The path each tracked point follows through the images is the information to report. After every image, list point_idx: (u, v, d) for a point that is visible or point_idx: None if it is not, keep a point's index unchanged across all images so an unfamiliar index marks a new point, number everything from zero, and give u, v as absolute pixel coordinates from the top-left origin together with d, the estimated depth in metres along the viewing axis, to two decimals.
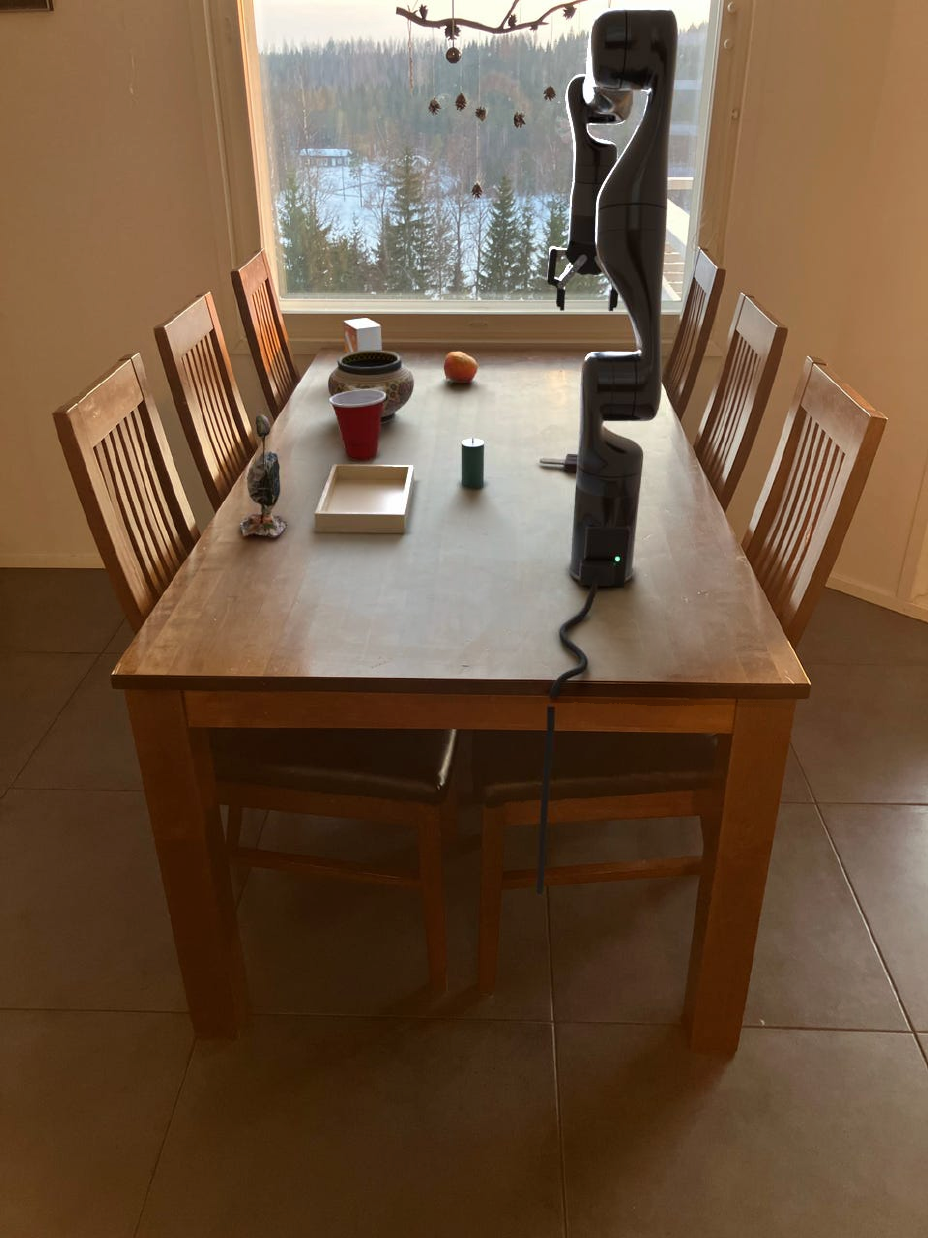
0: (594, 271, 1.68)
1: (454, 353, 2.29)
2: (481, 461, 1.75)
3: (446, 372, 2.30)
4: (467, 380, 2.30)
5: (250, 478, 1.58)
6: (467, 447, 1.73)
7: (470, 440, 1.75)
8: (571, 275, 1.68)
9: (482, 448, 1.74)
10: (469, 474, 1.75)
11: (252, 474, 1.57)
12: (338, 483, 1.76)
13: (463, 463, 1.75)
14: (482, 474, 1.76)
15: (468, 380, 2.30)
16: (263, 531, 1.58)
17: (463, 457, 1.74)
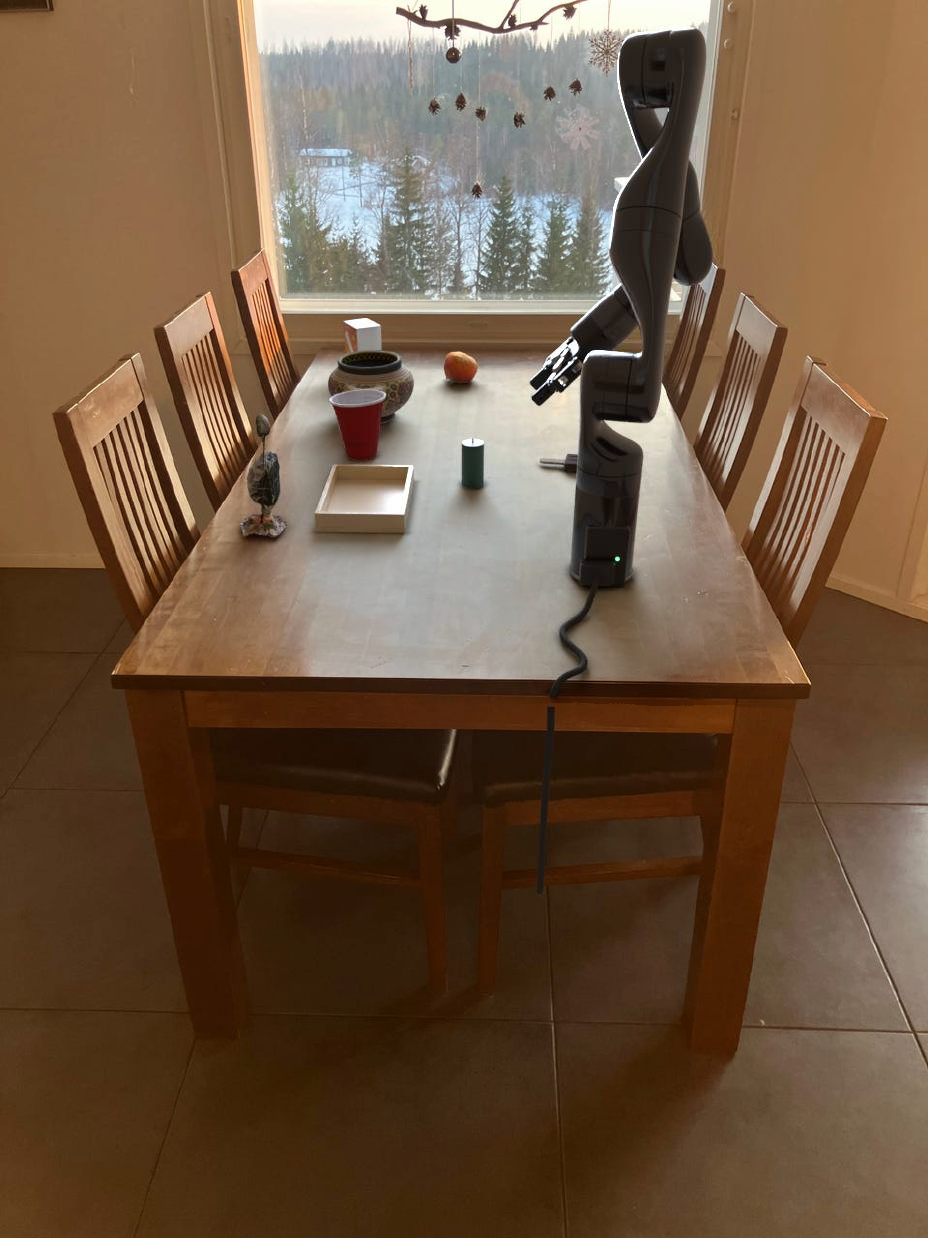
0: None
1: (454, 353, 2.29)
2: (481, 461, 1.75)
3: (446, 372, 2.30)
4: (467, 380, 2.30)
5: (250, 478, 1.58)
6: (467, 447, 1.73)
7: (470, 440, 1.75)
8: (552, 357, 1.69)
9: (482, 448, 1.74)
10: (469, 474, 1.75)
11: (252, 474, 1.57)
12: (338, 483, 1.76)
13: (463, 463, 1.75)
14: (482, 474, 1.76)
15: (468, 380, 2.30)
16: (263, 531, 1.58)
17: (463, 457, 1.74)
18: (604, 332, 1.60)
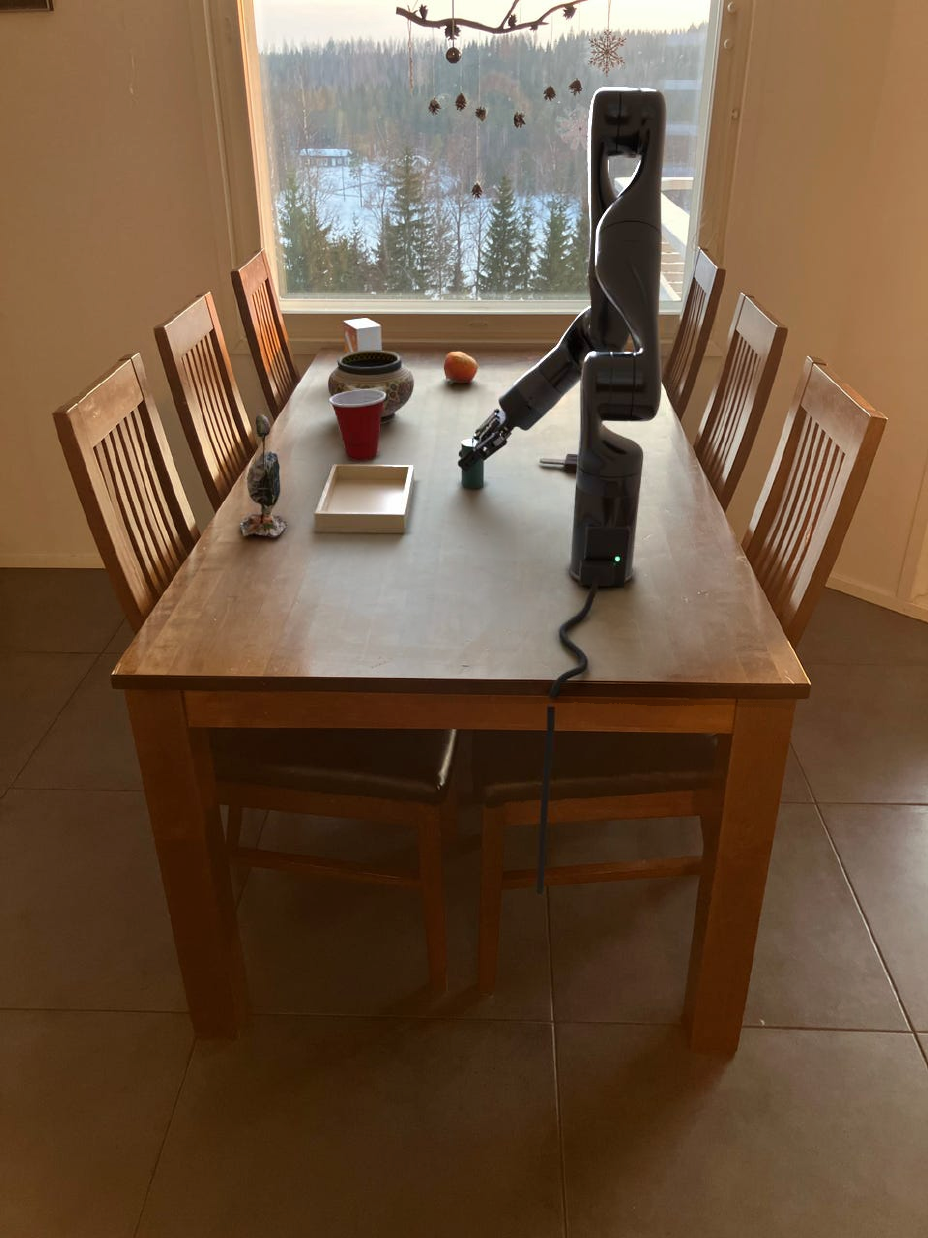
0: None
1: (454, 353, 2.29)
2: (481, 461, 1.74)
3: (446, 372, 2.30)
4: (467, 380, 2.30)
5: (250, 478, 1.58)
6: (467, 447, 1.73)
7: (470, 440, 1.75)
8: (481, 427, 1.75)
9: (482, 448, 1.74)
10: (469, 474, 1.75)
11: (252, 474, 1.57)
12: (338, 483, 1.76)
13: None
14: (482, 474, 1.76)
15: (468, 380, 2.30)
16: (263, 531, 1.58)
17: None
18: (529, 403, 1.66)
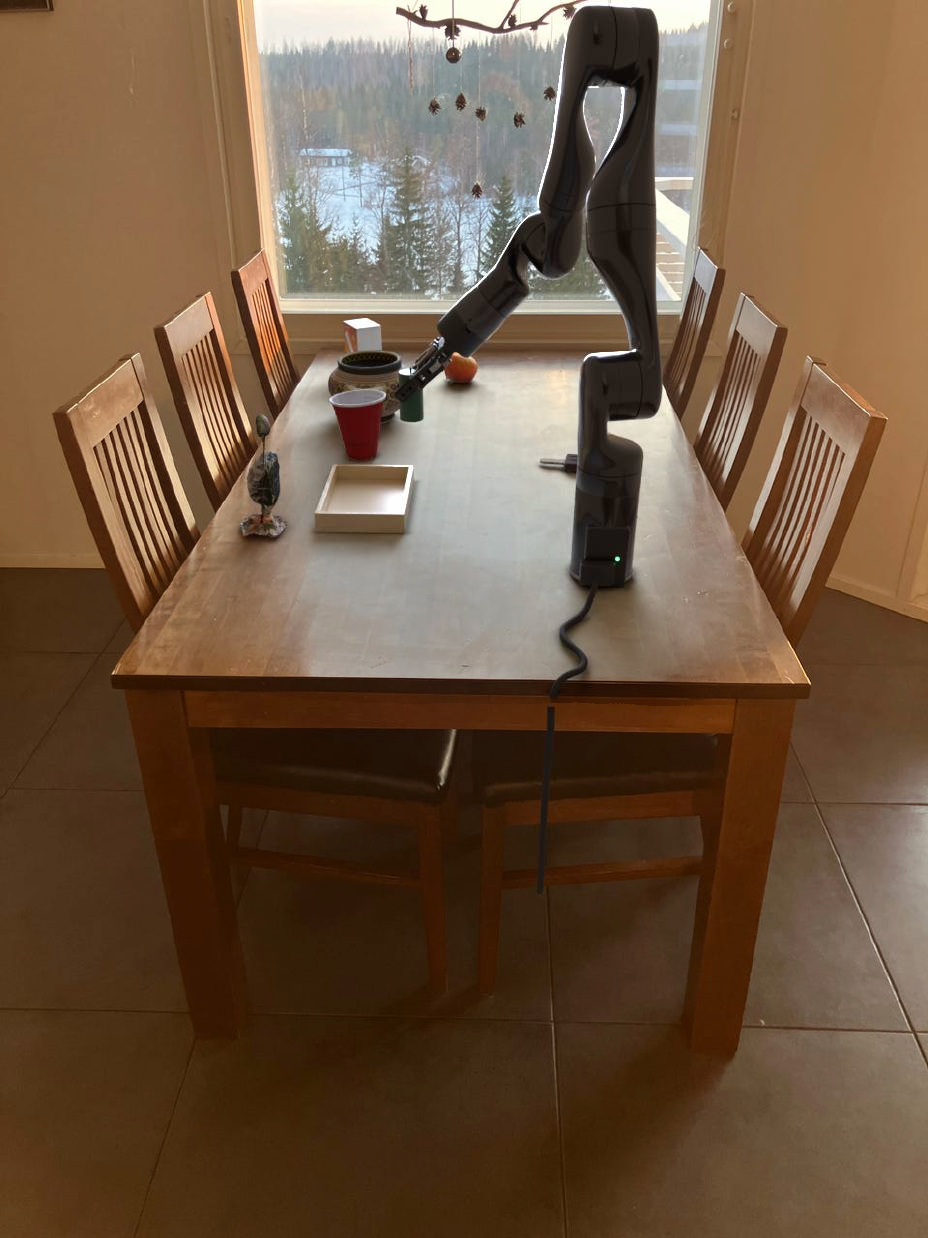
0: None
1: (454, 353, 2.29)
2: (420, 392, 1.63)
3: (446, 372, 2.30)
4: (467, 380, 2.30)
5: (250, 478, 1.58)
6: (404, 376, 1.61)
7: (408, 369, 1.63)
8: None
9: (420, 377, 1.62)
10: (407, 406, 1.63)
11: (252, 474, 1.57)
12: (338, 483, 1.76)
13: None
14: (421, 406, 1.64)
15: (468, 380, 2.30)
16: (263, 531, 1.58)
17: None
18: (468, 326, 1.54)
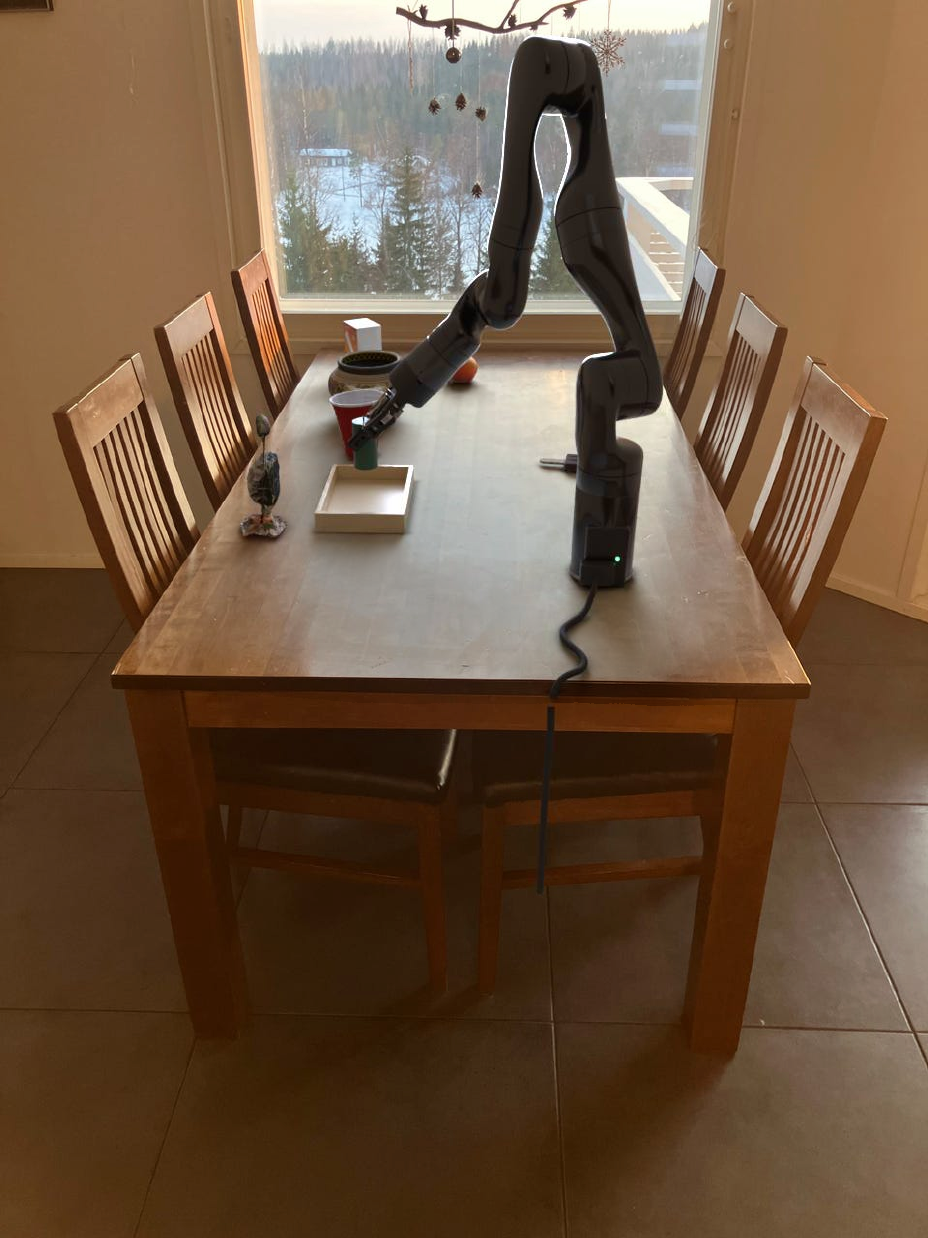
0: None
1: None
2: (373, 441, 1.63)
3: None
4: (467, 380, 2.30)
5: (250, 478, 1.58)
6: (357, 425, 1.61)
7: (361, 418, 1.63)
8: (373, 405, 1.63)
9: (373, 427, 1.62)
10: (361, 455, 1.63)
11: (252, 474, 1.57)
12: (338, 483, 1.76)
13: None
14: (375, 454, 1.64)
15: (468, 380, 2.30)
16: (263, 531, 1.58)
17: None
18: (419, 378, 1.55)
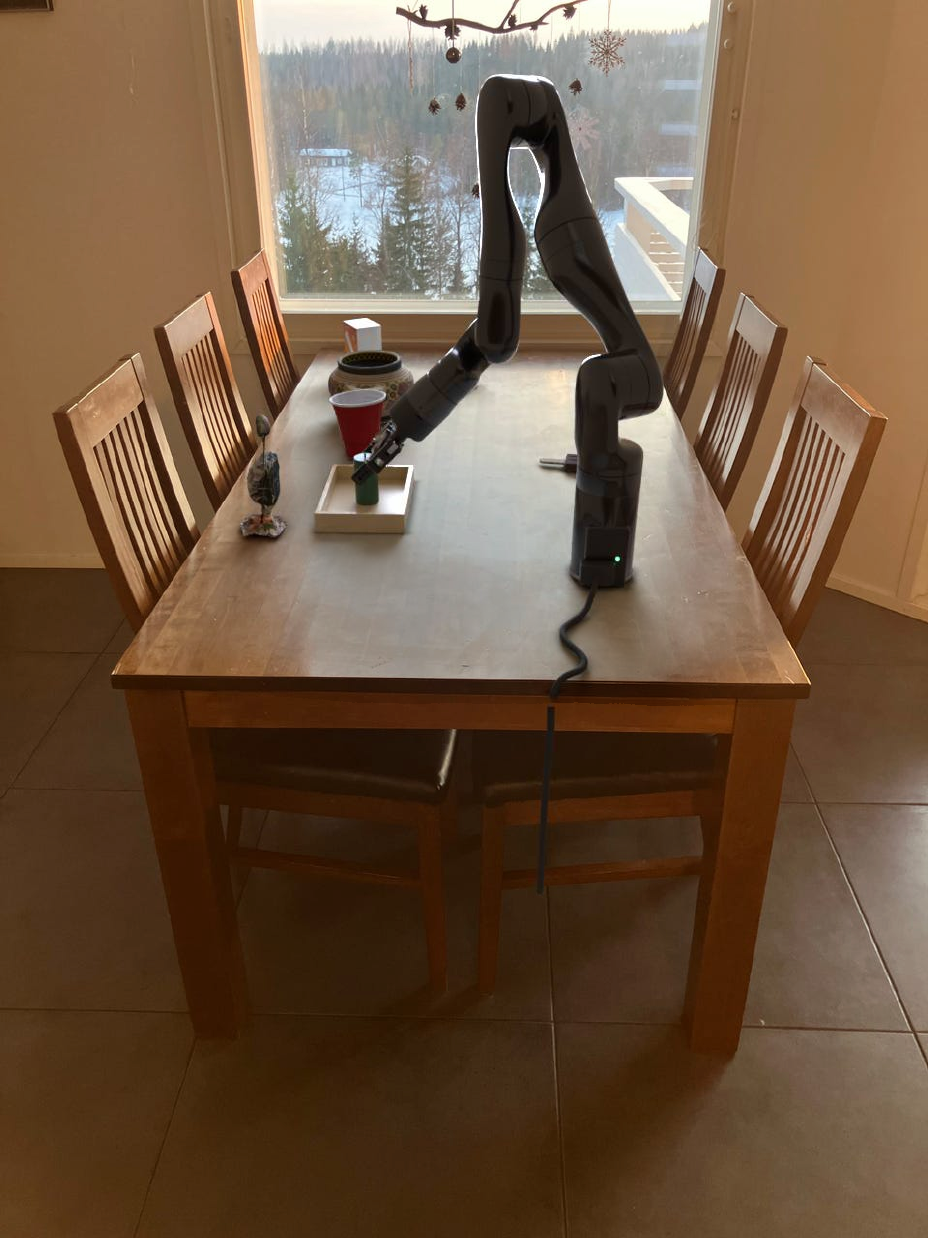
0: None
1: None
2: (374, 477, 1.66)
3: None
4: None
5: (250, 478, 1.58)
6: (358, 462, 1.64)
7: (363, 454, 1.66)
8: (376, 434, 1.66)
9: None
10: (362, 491, 1.67)
11: (252, 474, 1.57)
12: (338, 483, 1.76)
13: None
14: (376, 490, 1.68)
15: None
16: (263, 531, 1.58)
17: None
18: (419, 413, 1.57)
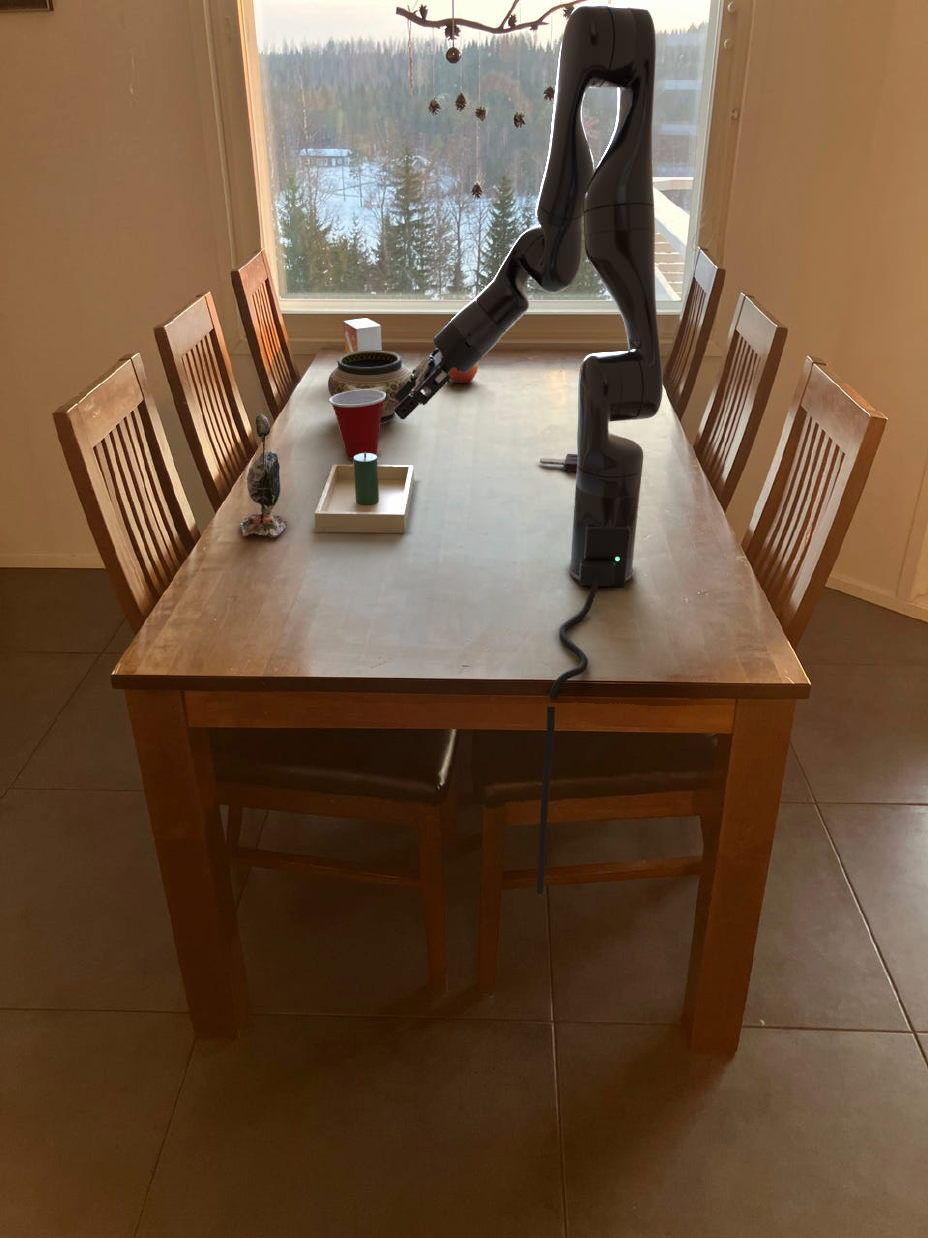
0: None
1: None
2: (374, 477, 1.66)
3: None
4: (467, 380, 2.30)
5: (250, 478, 1.58)
6: (358, 462, 1.64)
7: (363, 454, 1.66)
8: (416, 368, 1.60)
9: (375, 463, 1.65)
10: (362, 491, 1.67)
11: (252, 474, 1.57)
12: (338, 483, 1.76)
13: (355, 479, 1.66)
14: (376, 490, 1.68)
15: (468, 380, 2.30)
16: (263, 531, 1.58)
17: (355, 472, 1.66)
18: (468, 340, 1.52)
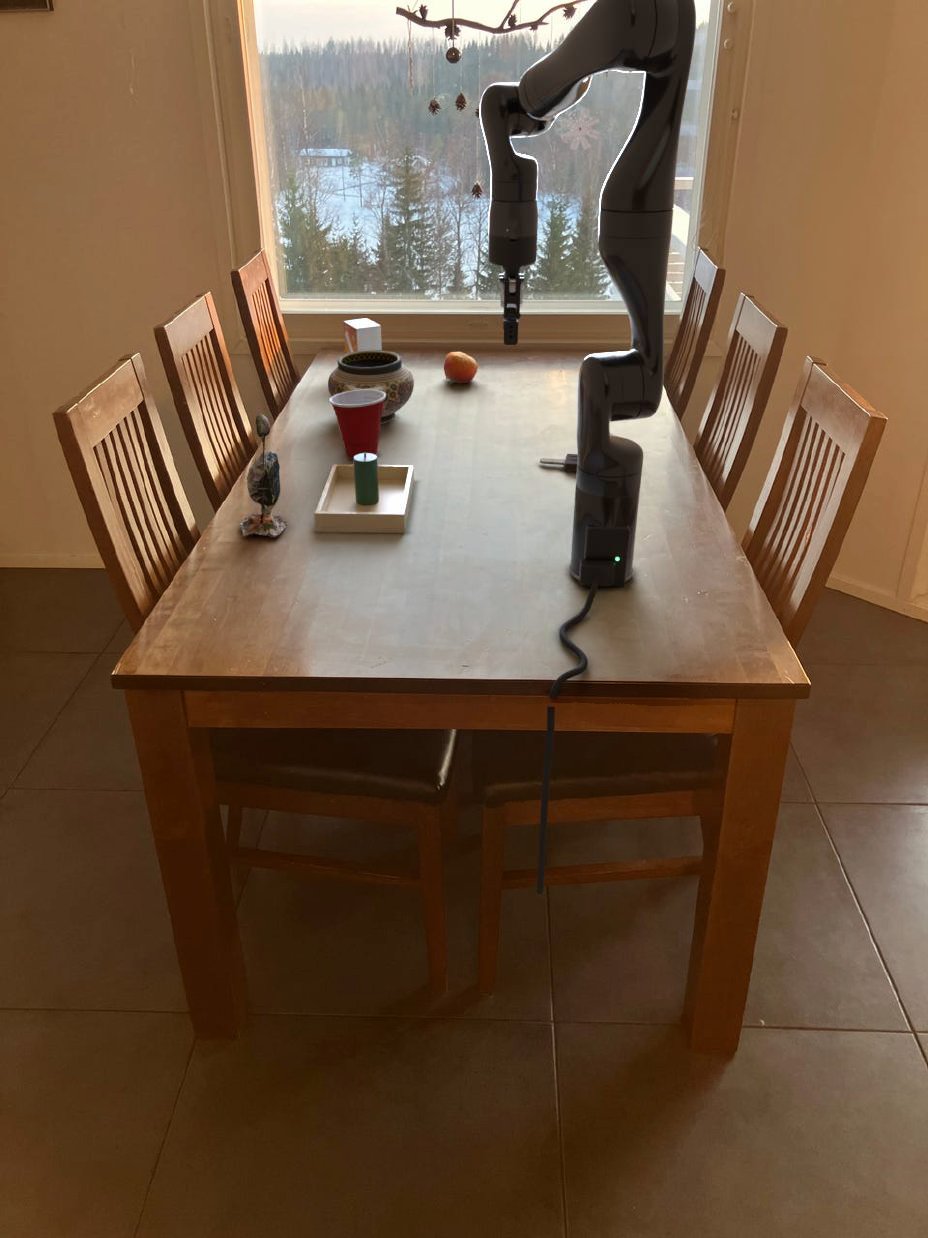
0: None
1: (454, 353, 2.29)
2: (374, 477, 1.66)
3: (446, 372, 2.30)
4: (467, 380, 2.30)
5: (250, 478, 1.58)
6: (358, 462, 1.64)
7: (363, 454, 1.66)
8: (500, 294, 1.58)
9: (375, 463, 1.65)
10: (362, 491, 1.67)
11: (252, 474, 1.57)
12: (338, 483, 1.76)
13: (355, 479, 1.66)
14: (376, 490, 1.68)
15: (468, 380, 2.30)
16: (263, 531, 1.58)
17: (355, 472, 1.66)
18: (510, 236, 1.47)
